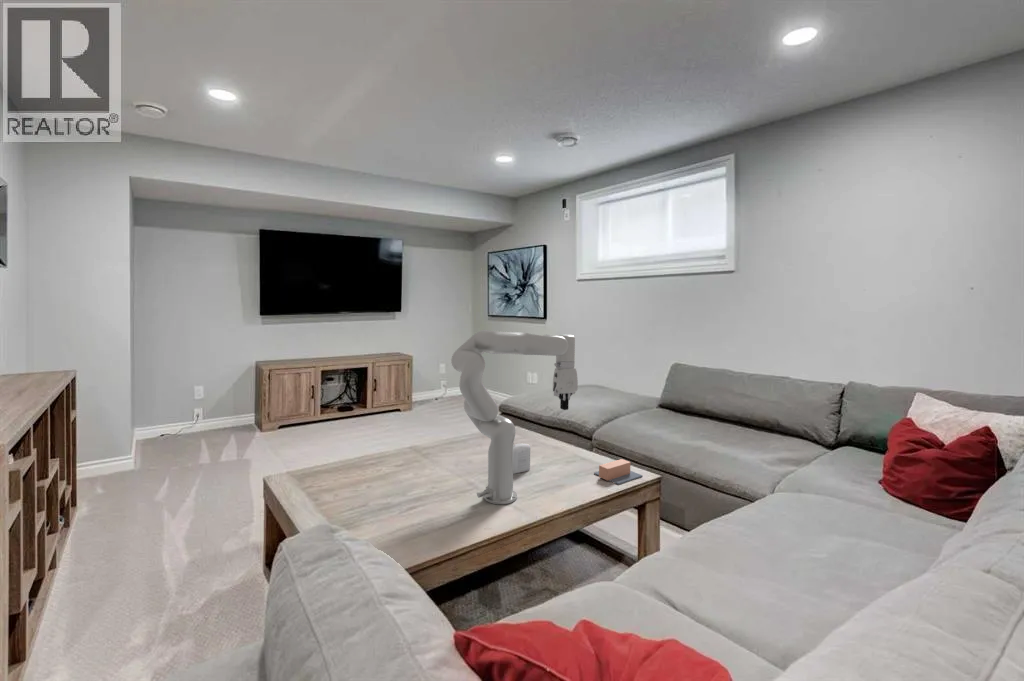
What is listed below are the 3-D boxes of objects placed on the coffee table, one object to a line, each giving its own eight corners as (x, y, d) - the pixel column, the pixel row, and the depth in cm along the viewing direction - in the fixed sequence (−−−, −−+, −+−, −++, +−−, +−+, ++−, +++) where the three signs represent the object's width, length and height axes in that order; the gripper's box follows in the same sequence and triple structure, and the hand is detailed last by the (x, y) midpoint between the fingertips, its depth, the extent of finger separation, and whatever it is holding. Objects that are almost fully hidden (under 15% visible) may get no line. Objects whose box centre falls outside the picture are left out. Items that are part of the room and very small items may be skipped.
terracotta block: (607, 468, 199) (630, 462, 207) (599, 465, 203) (621, 458, 211) (607, 480, 199) (630, 473, 207) (598, 476, 203) (621, 469, 211)
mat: (618, 484, 197) (618, 483, 197) (594, 473, 208) (594, 472, 208) (642, 476, 205) (642, 475, 205) (617, 466, 217) (617, 465, 217)
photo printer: (526, 467, 216) (526, 440, 214) (531, 470, 212) (531, 443, 211) (506, 472, 210) (507, 444, 209) (512, 475, 206) (512, 447, 205)
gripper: (557, 367, 187) (556, 413, 189) (585, 364, 195) (584, 408, 197) (545, 365, 193) (544, 409, 195) (572, 362, 202) (571, 405, 203)
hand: (564, 409), depth 196 cm, fingers closed
